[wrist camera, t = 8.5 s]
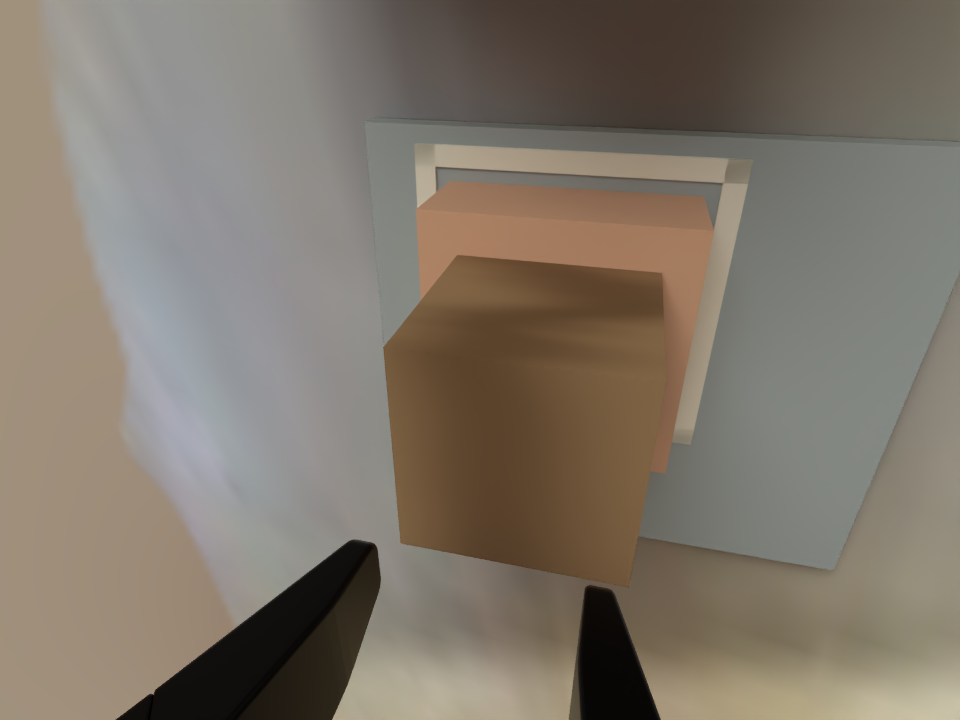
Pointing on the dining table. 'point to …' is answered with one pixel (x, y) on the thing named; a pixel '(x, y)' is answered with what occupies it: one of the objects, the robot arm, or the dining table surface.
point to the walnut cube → (528, 414)
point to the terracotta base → (582, 250)
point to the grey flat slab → (738, 302)
